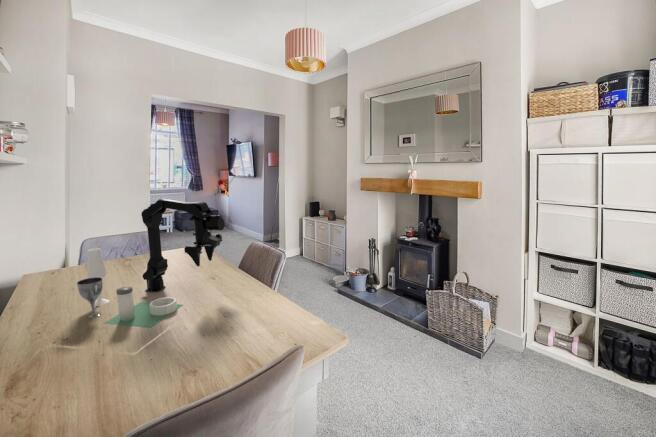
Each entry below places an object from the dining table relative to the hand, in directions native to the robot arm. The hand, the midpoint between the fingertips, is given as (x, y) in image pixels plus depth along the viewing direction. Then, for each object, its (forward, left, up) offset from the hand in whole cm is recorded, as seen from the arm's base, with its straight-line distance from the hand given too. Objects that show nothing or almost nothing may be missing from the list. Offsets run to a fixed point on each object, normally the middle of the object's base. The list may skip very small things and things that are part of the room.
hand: (204, 263), depth 148 cm
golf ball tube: (-17, -29, -14) cm, 36 cm away
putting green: (-13, -24, -15) cm, 31 cm away
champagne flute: (-41, -17, -15) cm, 46 cm away
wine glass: (-32, -29, -15) cm, 45 cm away
